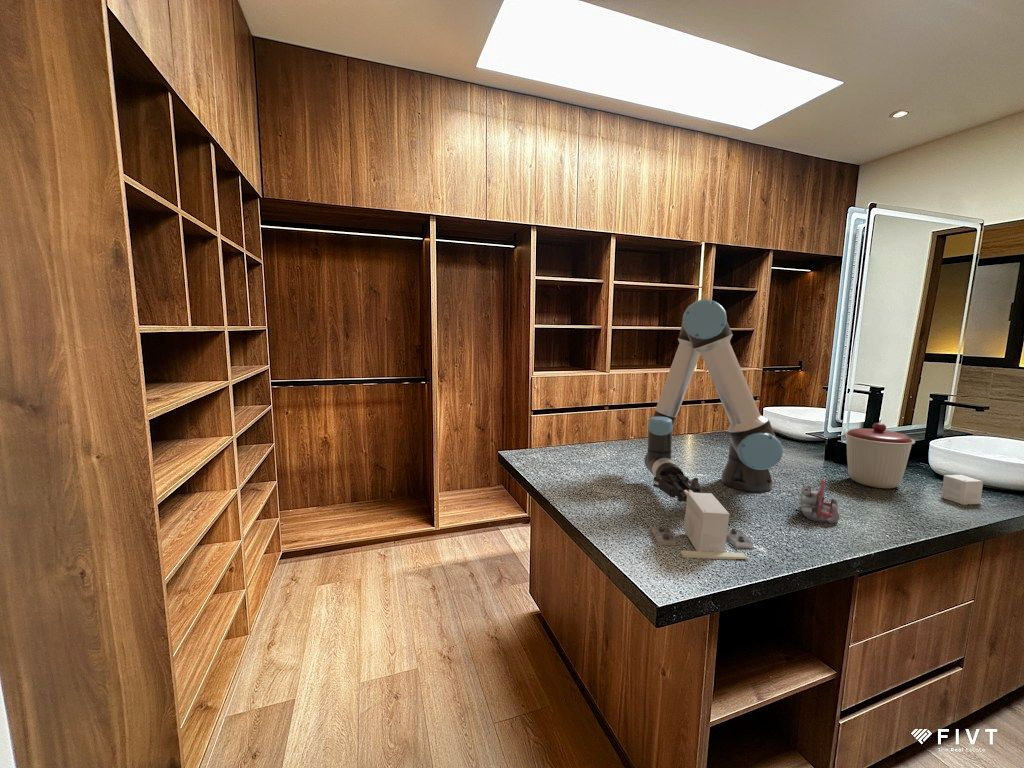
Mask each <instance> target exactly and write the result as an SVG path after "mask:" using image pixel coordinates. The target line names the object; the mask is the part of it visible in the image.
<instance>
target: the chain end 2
mask: <svg viewBox="0 0 1024 768" xmlns="http://www.w3.org/2000/svg"><path fill="white" fill-rule="evenodd" d="M726 539H727V540H728V541H729V542H730V543H731V544H732V545H733V546H734V548H735V549H754V543H753V541H751V540H750V539H749V537H747V535H745V534H744V533H743V532H742V531H741V530H740V529H736V528H731V529H727V537H726Z"/></svg>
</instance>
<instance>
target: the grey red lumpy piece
mask: <svg viewBox="0 0 1024 768" xmlns="http://www.w3.org/2000/svg"><path fill="white" fill-rule="evenodd" d="M825 483H826V481H825V479H824V478H823V479H821V483H820V490H819V491H817V490H812V485H810V484H809V485H806V484H803V485H802V488H801V494H800V496H799V497H798V500H799V501H800V505H801V506H798V507H797V509H798V510H799V511H801V512H802V514H803V515H804V516H805V517H806V518H807V519H808V520H810V521H813V520H814V522H823V523H827V522H829V523H828V524H836V523H837V522H839V520H840V518H841V517H840V515H841V509H840V507H839V504H838V500H837V499H836V498H831V500H830V502H826V501H824V500H825V485H826V484H825Z"/></svg>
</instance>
